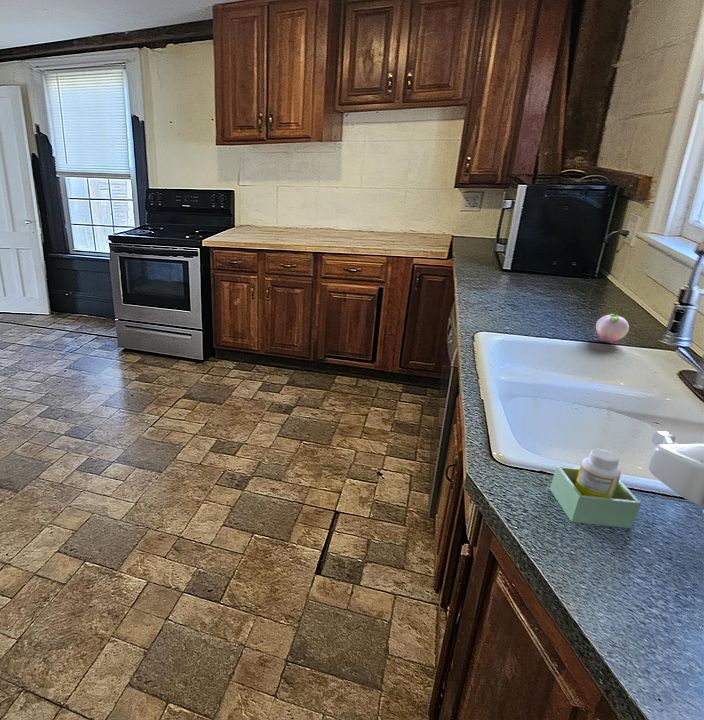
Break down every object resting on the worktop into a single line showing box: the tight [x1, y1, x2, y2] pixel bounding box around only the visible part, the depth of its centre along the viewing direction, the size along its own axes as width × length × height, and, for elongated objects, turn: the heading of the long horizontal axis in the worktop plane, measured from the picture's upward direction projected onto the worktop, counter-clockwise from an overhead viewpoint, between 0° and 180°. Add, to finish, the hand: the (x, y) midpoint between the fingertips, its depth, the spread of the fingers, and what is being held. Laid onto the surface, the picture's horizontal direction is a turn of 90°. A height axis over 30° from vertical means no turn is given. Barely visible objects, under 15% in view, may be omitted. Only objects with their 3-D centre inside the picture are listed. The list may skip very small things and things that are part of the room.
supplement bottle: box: [575, 448, 622, 498], centre depth 90 cm, size 6×6×10 cm
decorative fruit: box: [595, 312, 630, 343], centre depth 167 cm, size 9×8×10 cm
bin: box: [549, 465, 642, 529], centre depth 91 cm, size 9×9×5 cm
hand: (691, 435), depth 72 cm, fingers open, 8 cm apart
